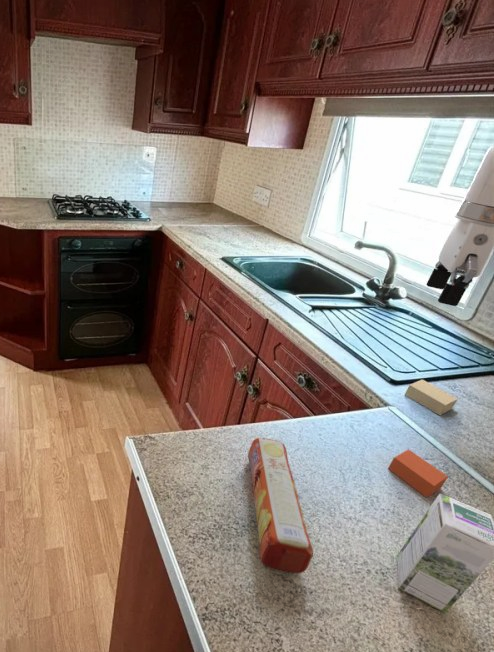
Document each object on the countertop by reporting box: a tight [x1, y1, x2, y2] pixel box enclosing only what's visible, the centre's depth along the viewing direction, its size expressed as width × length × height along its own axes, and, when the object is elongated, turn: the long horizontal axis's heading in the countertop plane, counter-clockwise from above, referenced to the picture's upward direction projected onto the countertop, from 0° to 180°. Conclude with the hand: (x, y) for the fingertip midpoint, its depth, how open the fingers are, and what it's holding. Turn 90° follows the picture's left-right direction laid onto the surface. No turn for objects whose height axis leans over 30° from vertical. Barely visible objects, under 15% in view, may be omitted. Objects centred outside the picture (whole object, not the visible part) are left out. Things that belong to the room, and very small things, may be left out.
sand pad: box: [404, 379, 459, 416], centre depth 97 cm, size 8×6×3 cm
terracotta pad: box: [387, 449, 449, 498], centre depth 74 cm, size 7×5×3 cm
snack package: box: [247, 437, 314, 574], centre depth 64 cm, size 21×7×7 cm, turn 169°
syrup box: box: [396, 493, 494, 614], centre depth 54 cm, size 6×6×14 cm
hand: (440, 295), depth 84 cm, fingers open, 9 cm apart
